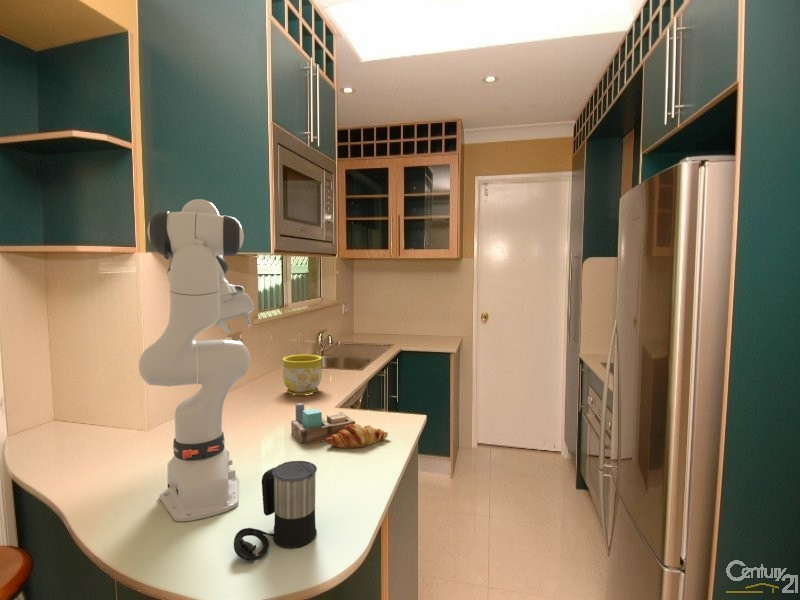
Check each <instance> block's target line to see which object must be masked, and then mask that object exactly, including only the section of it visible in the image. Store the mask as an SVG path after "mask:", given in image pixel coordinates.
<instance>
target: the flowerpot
mask: <svg viewBox="0 0 800 600" xmlns="http://www.w3.org/2000/svg"><path fill="white" fill-rule="evenodd" d="M322 360H323V357H322V356H320V355H317V354H294V355H293V354H292V355H287V356H284V357H283V358H282V362H283V371H282V380H283V383H284V385H285V387H286V388H287V389H286V391H287V393H290V394H289V395H291V394H295V395H305V394H310V393H314V392H316V393H317V391H319V385H320V383H321V381H322V377H323V374H322V362H321V361H322ZM314 394H315V393H314Z"/></svg>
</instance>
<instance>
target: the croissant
mask: <svg viewBox="0 0 800 600" xmlns="http://www.w3.org/2000/svg"><path fill="white" fill-rule="evenodd" d="M387 437H388V432H387V431H385V430H383V429H381V428H377V429H376V427H372V426H371V425H366V426H365V425H364V426H361V424H359V423H355V424H350V425H347V426H346V427H345V428H344V430H340V431H339V432H338V433H337V434H334V435H332V436H330V437H329V438H326V440H325V442H326V444H328V445H330V446H334V447H337V448H340V449H356V448H364V446H365V447H368V446H370V445H372V444H373V443H374V444H376V443H378V442H379V441H384V440H385V439H387ZM367 445H368V446H367ZM355 447H356V448H355Z"/></svg>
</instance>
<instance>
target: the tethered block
mask: <svg viewBox="0 0 800 600" xmlns="http://www.w3.org/2000/svg"><path fill="white" fill-rule="evenodd" d="M322 416H323V414H322V411H321V410H319V409H318V408H310V409H305V403H304V402H303V403H302V402H298V403H295V420H296V421H297V422H298V423H299V424H300V425H301V426H302V427H303V428H305V429H310V428H315V427H320V426H322V419H323V417H322Z"/></svg>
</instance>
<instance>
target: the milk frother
mask: <svg viewBox="0 0 800 600" xmlns="http://www.w3.org/2000/svg"><path fill="white" fill-rule="evenodd" d="M317 470H318V468H317V465H315V463H312V462H309V461H305V460H292V461H285V462H283V463H281V464H278V465H277V466H275V467H272V468H269V469H268V470H267V471H265V472H264V473H263V474H262V477H261V492H262V493H261V494H262V506H263V507H262V509H263V510H262V511H263V514H264V515H265V516H270V515H273V514H274V524H273V525H274V526H273V533H268V532H266V531H263V530H262V529H257V528H254V527H247V528H242V529H240V530H239V531H237V533H236V534H235V536H234V539H233V549H234V552H235V554H236V556H237V557H239V558H240V559H241V560H245V561H247V562H248V561H249V562H250V561H256V560H259V559H261V558H264V557H265V555H266V554H267V553H268V551H269V547H270V543H269V540H268V538H267V536H269V537H272V541H273V542H274V544H276V545H277V546H278V547H281V548H284V549H297V548H301V547H304V546H306V545H308V544H310V543H312V542H313V541H314V540H315V538H316V536H317V532H318V531H317V530H318V529H317V528H316V476H317V475H316V473H317ZM248 536H251V537H252V536H253V537H255V538H257V539H259V540H260V541H261V544H262V549H260V551H259V552H257V551H256V549H257V544H255V545H254V544H253V543H251V542H249V541H245V539H244V537H248ZM313 539H314V540H313ZM312 540H313V541H312ZM309 542H310V543H309ZM305 544H306V545H305ZM303 545H304V546H303ZM300 546H301V547H300ZM296 547H297V548H296Z"/></svg>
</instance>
